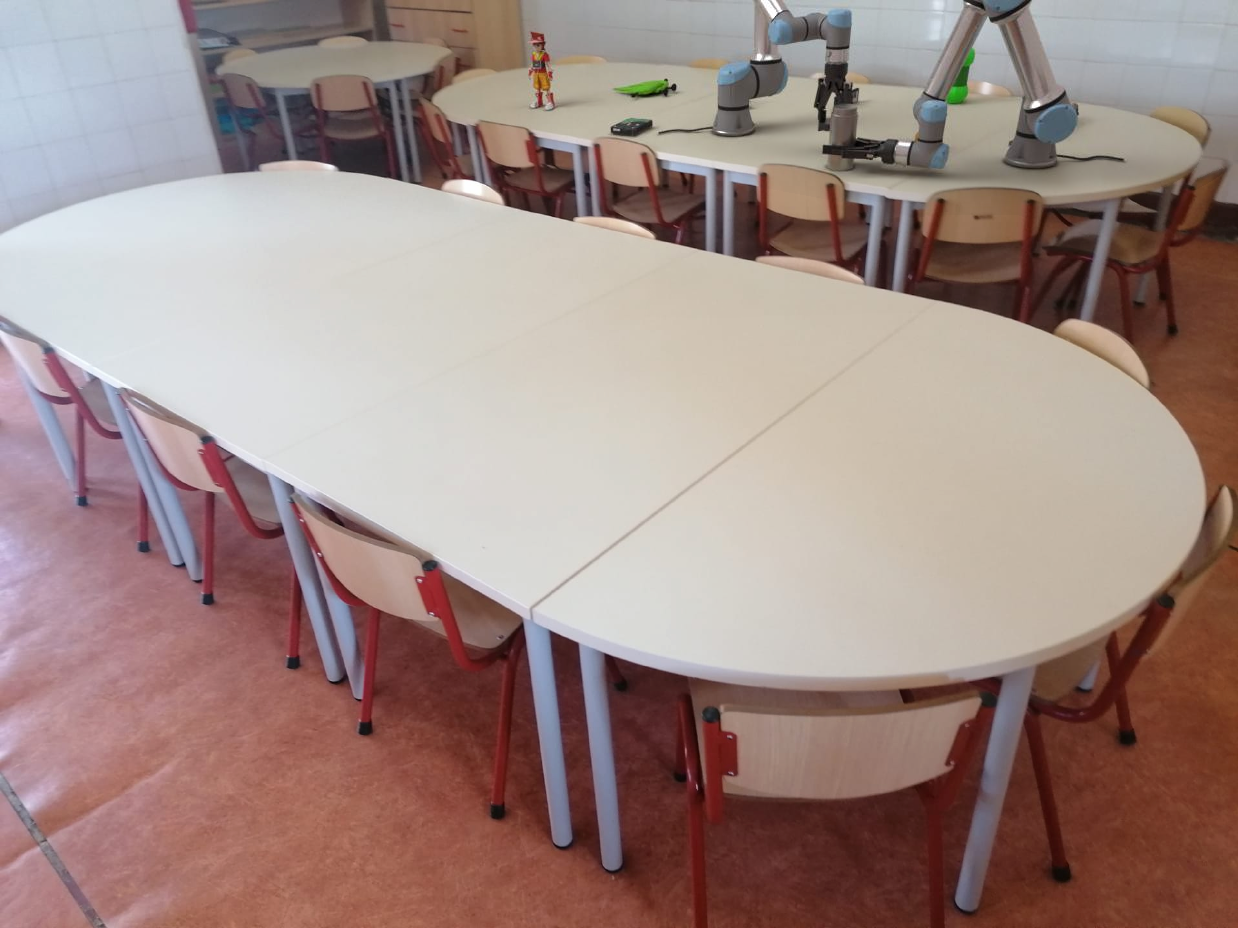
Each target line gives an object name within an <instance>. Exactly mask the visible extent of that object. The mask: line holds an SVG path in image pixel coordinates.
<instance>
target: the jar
mask: <svg viewBox="0 0 1238 928" xmlns="http://www.w3.org/2000/svg"><path fill="white" fill-rule="evenodd" d="M858 110H859V109H858V105H856V104H854V103H853V104H837V105H834V104H833V106H832V111H831V113H830V118H831V120H830V131H829V134H828V145H832V146H843V145H844V148H855V143H856V139H857V132H858V121H859V111H858ZM841 157H842V156H839V155H829V154H827V161H826V168H827V169H828V170H832V171H848V170H851V169H853V168H854V163H855V159H846V158H844V159H843V158H841Z"/></svg>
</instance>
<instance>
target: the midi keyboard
mask: <svg viewBox="0 0 1238 928" xmlns="http://www.w3.org/2000/svg"><path fill="white" fill-rule="evenodd" d="M859 94H860V88H859V87H856V88H852V96H853V104H854V103H856V102H858V101H859ZM837 104H839V102H838V98H837V96H836V95H835V96H834V97H833V106H834V105H837Z"/></svg>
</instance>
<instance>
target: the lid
mask: <svg viewBox="0 0 1238 928" xmlns="http://www.w3.org/2000/svg"><path fill="white" fill-rule="evenodd" d="M830 120H831V117H826V118H825V119H821V120H818V122H819V123H817V129H818V128H819V129H820V130H823V131H822V132H830Z"/></svg>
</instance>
